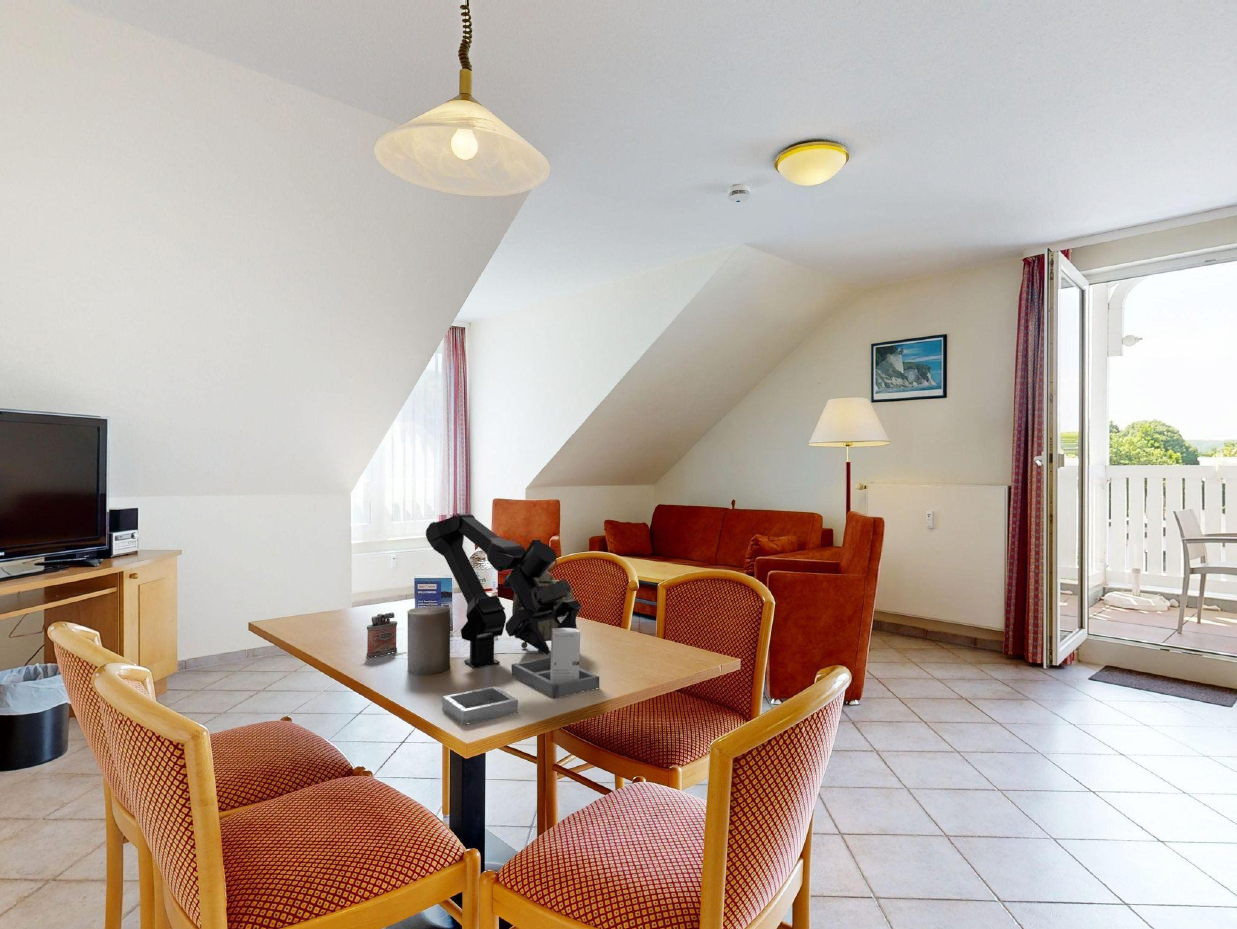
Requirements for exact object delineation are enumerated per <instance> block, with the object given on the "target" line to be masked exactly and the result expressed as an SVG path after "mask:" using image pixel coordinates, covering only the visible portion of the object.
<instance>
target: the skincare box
mask: <svg viewBox="0 0 1237 929" xmlns="http://www.w3.org/2000/svg"><path fill="white" fill-rule="evenodd" d="M550 644H551V645H550V646H551V647H550V657H551V669H550V670H551V677H550V681H552V682H554V683H556V684H557V683H562V682H567V681H572V680H577V679H579V668H580V652H581V649H580V648H581V631H580V628H578V627H577V628H552V640H551V641H550Z"/></svg>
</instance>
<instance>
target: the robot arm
mask: <svg viewBox="0 0 1237 929" xmlns="http://www.w3.org/2000/svg"><path fill="white" fill-rule="evenodd" d="M425 537H426V539H427V542H428V543H429V544H430V547H432V549H433V550H434V551H436V553H437V554H440V555H442V556H443V557H444V559H445V561H446V563H447V565H448V567H449V570H450V572H451V573H452V575H453V577H454V580H455V581H456V583H457V585H458V587H459V590H460V591H461V593H462V595H463V597H464V600H465V602H466V604H467V606H466V614H465V617H466V619H467V621H466V622H465V624H464V625H463V626H462V627H461V629H460V635H461V639H462V640H465V641H469V659H468V658H467V659H464V660H463V661H464V662H463V663H465V664H467V665H469V666H471V667H472V668H475V669H477V668H484V667H489V666H494V665H500V664H501V662H500V661H499V660H498V659H496V658H495V637H501V636H502V635H503V632H504V629H505V631H506V633H507V634H508V636H509V637H514V638H515V639H519V640H520V641H523V642H526V643H527V644H528V645H529V646H532V647H533V648H535V649H536V650H537V651H538V650H540V651H541V652H543V654H544V655H549V654H551V649H550V647H549V646H548V644H547V641H545V640H544V638H543V636H542V634H541V632H540V631H539V628H538V622H541V621H545V620H550V619H554V621H555V623H557V624H559V625H558V628H578V627H577V620H576V619H577V617H578V615H579V613H580V611H581V609H582V605H581V603H580V602H579V600H578V599H574V598H573V600H568V601H563V602H562V603H561V605H560V606H559V607H558V608H557V609H554V608H553V607H554V606H556V605H557V604H558V603H559V602H558V601H557V600H559V599H561V598H563V597H567V596H568V593H569V592H570V591H571V588H572V587H571V588H570V586H571V584H570V583H569V581H567V579H566V578H563V579H559V581H557V582H556V583H554V584H550V585H548V586H545V585H544V586H541V585H540V584H539V582H538V580H537V579H536V578H540V577H542V576H543V575H544V574H545V573H546V571H547V572H548V571H549V570H548V569H549V568H550V567H552V566H553V564H555V560H557V552H556V551H555V549H554V548H552V547H551V546H550V545H548V544H547V543H545V542H542V541H541V539H539V538H538V539H533V540H531V541H530V543H529V546H528V547H527V549H525V548H524V547H523V545H521V544H519V543H517V542H515V541H513V540H508V539H505V538H503V537H502V538H501V537H500V536H499V535H497V534H496V533H495V532H494V531H492V530H491V529H489V527H487V526H485V525H484V524H483V523H482V522H481V521H479V520H478V519H477V518H476V516H474V515H473V514H471V513H457V514H455V515H452V516H451V517H448V518H446V519H442V520H439V521H433V522H430V523H429V525H428V526H427V528H426V530H425ZM464 538H467V539H468V540H469V541H471V543H473V545H475V546H476V547H478V548H479V549H481V551H483V552H484V553H485V554H486V558H487V561H488V563H489V564H490V565H491V567H492V568H494V569H495V570H496V571H497V572H506V571H510V573H509V574H507V575H504V580H503V583H502V588H504V589H506V588H511V589H512V590H513V592H514V593H515V594H516V596H517V598H518V599H519V602H518V603H517V605H518V607H523V608H524V609H523V610H519V611H515V613H514V614H513V615H511V616H510V618H509V619H508V620H507V615H506V611H505V610H506V607H504V606H503V604H502V602H501V600H500V598H499V596H498V595H491V596H490V595H488V594H487V592H486V591H485V588H484V586H483V584H482V583H481V580H480V578H479V577H478V575H477V572H476V571H475V569H474V567H473V565H472V563H471V561H470V559H469V557H468V555H467V553H466V550H465V549H464V546H463V545H464ZM569 584H570V585H569Z"/></svg>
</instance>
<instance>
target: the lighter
mask: <svg viewBox="0 0 1237 929" xmlns="http://www.w3.org/2000/svg"><path fill="white" fill-rule="evenodd" d="M394 618H395V612H387V613H386V612H385V613H378V614H377V615H375V616H371V623H372V624H369V625H367V626H366V630H367V642H366V643H367V646H366V647H367V648H366V649H367V650H366V651H367V652H366V658H368V657H373V658H376V657H375V656H379V657H382V656H381V655H384V656H387V655H386V654H388V653H392V652H395V653H397V652H398V647H397V626H398V621H397V620H391V619H394ZM396 651H397V652H396ZM392 654H393V653H392ZM388 655H389V654H388Z"/></svg>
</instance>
